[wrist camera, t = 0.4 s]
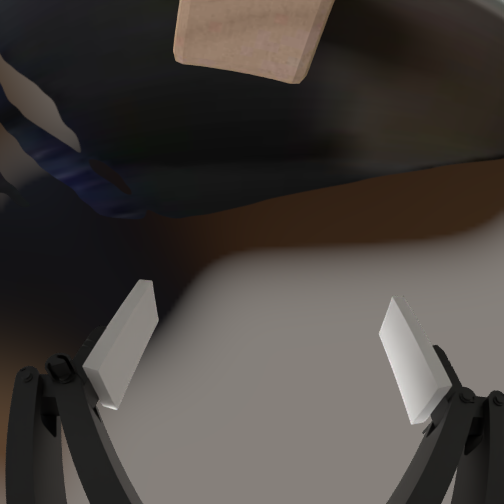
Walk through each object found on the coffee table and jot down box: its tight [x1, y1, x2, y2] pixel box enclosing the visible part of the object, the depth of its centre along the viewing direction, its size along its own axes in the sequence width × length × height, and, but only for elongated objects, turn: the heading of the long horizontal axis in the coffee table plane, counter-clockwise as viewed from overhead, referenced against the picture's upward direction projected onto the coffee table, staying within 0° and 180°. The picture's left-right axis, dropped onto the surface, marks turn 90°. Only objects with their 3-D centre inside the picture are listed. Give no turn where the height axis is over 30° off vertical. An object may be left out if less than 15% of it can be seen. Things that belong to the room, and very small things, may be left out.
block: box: [173, 0, 335, 84], centre depth 19 cm, size 10×10×20 cm
